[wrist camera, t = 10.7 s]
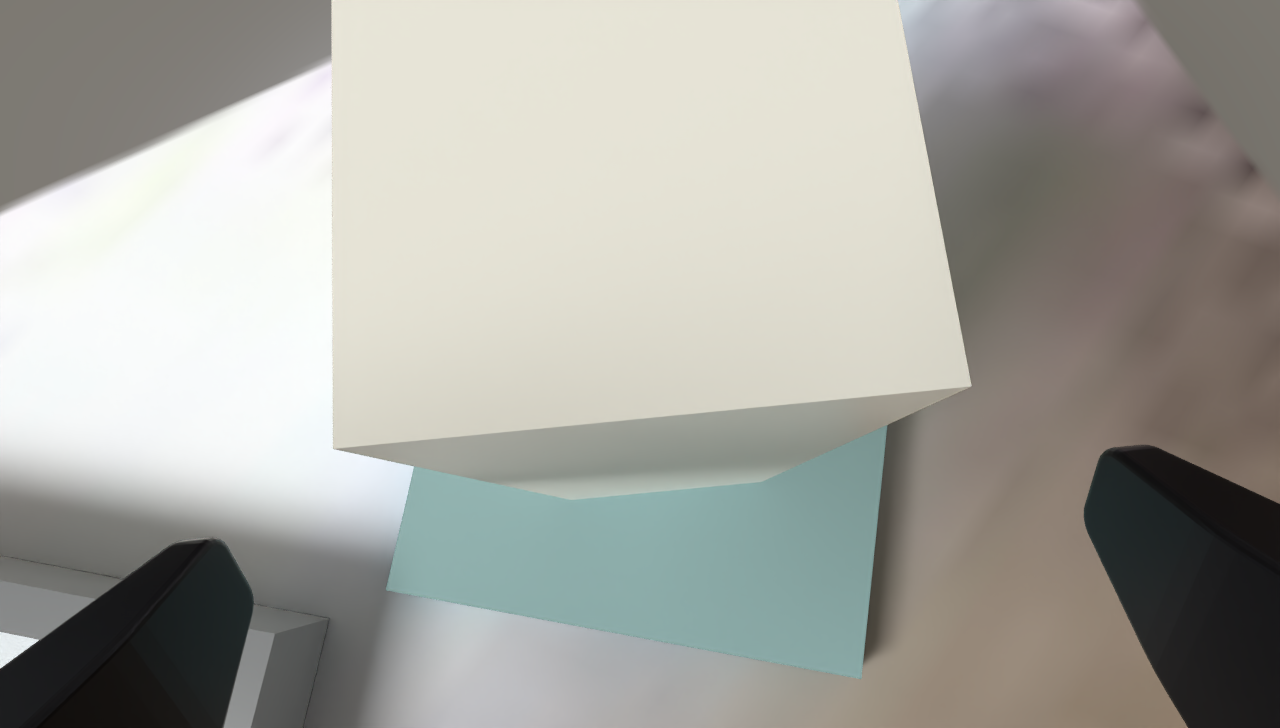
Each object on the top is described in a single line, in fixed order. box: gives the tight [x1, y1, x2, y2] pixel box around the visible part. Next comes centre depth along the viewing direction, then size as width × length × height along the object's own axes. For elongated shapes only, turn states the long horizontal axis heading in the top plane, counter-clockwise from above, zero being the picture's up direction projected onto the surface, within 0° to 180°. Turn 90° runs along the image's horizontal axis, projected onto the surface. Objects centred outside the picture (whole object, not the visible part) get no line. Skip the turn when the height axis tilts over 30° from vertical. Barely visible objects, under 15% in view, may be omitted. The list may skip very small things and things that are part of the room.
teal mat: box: [386, 425, 887, 679], centre depth 18 cm, size 11×11×1 cm
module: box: [332, 0, 972, 500], centre depth 12 cm, size 4×4×12 cm
